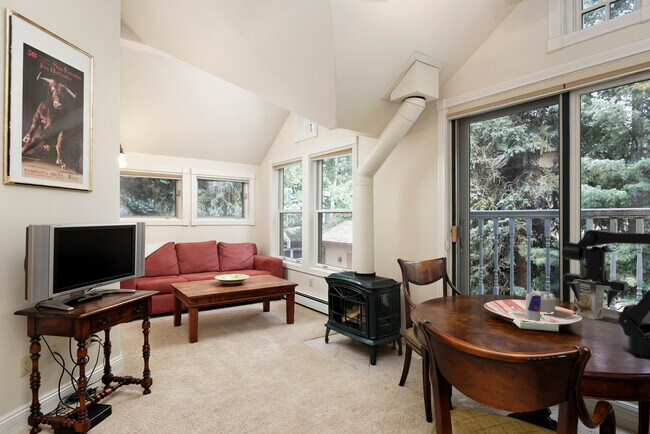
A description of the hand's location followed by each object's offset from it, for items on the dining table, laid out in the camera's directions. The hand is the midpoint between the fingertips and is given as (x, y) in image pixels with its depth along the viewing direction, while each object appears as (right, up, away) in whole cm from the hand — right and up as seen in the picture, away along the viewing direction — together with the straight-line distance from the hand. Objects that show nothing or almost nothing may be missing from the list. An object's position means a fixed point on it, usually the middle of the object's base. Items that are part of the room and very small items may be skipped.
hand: (593, 304), depth 125 cm
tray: (-14, -12, +15) cm, 24 cm away
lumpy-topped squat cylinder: (+3, -12, +34) cm, 36 cm away
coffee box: (+19, -13, +27) cm, 36 cm away
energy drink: (-13, -12, +15) cm, 23 cm away
